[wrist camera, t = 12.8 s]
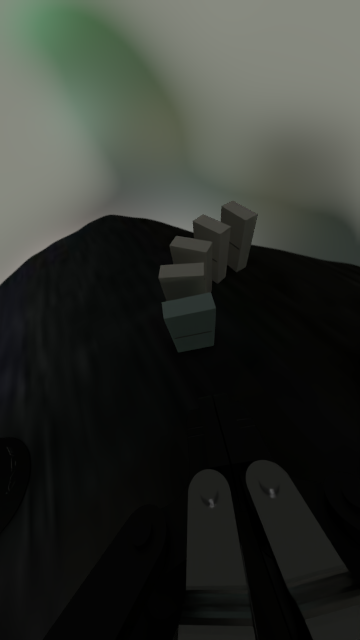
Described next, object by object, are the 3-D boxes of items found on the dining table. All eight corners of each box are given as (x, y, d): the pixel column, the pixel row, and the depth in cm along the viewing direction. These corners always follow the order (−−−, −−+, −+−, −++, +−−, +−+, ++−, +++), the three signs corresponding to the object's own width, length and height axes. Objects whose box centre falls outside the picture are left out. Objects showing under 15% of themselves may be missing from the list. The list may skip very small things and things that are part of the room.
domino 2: (205, 319, 26) (203, 275, 19) (172, 319, 27) (158, 278, 19) (205, 307, 27) (203, 262, 20) (174, 308, 28) (160, 265, 20)
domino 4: (217, 283, 29) (220, 234, 22) (196, 270, 32) (192, 221, 24) (225, 277, 30) (231, 226, 22) (204, 264, 32) (203, 214, 25)
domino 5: (236, 272, 30) (245, 220, 23) (218, 257, 33) (221, 206, 25) (245, 267, 30) (258, 214, 23) (227, 252, 33) (233, 200, 25)
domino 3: (213, 345, 24) (215, 308, 16) (178, 352, 24) (163, 319, 16) (210, 332, 25) (210, 291, 17) (176, 339, 25) (161, 302, 18)
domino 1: (207, 299, 28) (206, 252, 20) (179, 291, 30) (169, 245, 22) (211, 290, 29) (212, 241, 21) (184, 282, 31) (176, 235, 23)
